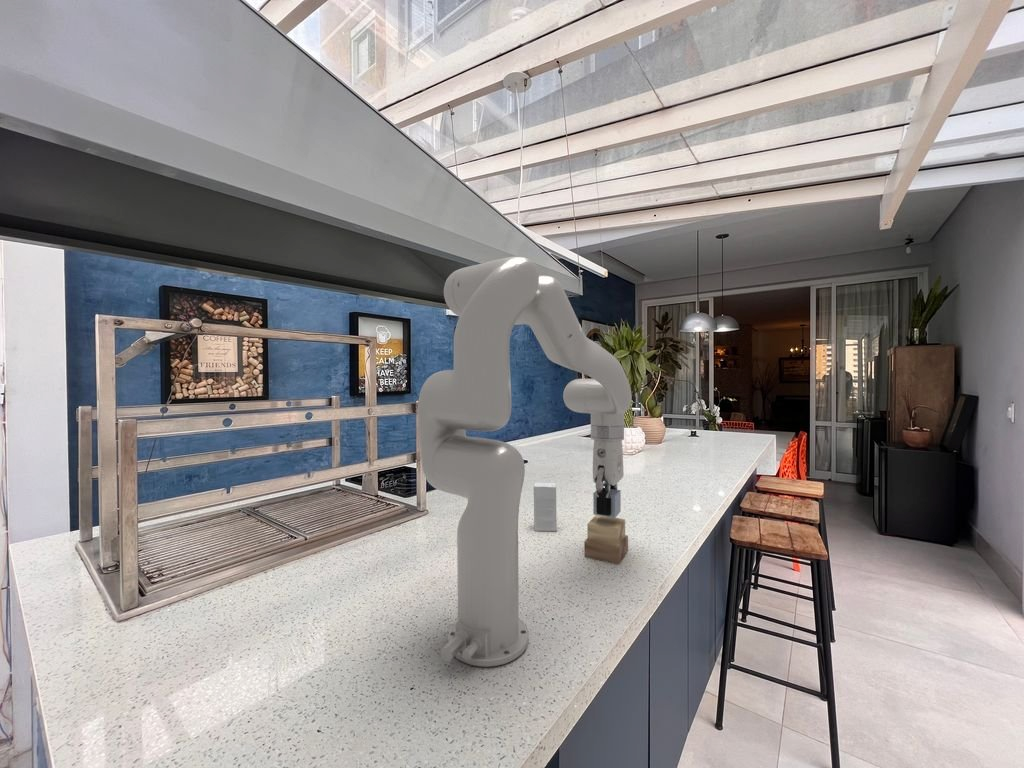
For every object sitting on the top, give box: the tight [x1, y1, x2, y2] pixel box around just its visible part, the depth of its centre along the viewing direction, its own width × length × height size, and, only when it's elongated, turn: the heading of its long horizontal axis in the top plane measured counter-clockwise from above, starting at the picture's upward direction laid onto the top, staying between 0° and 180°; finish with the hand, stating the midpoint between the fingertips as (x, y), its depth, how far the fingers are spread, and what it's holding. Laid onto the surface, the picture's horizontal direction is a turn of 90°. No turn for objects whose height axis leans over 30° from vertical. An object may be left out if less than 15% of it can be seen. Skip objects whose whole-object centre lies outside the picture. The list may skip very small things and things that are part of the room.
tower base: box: [583, 534, 629, 566], centre depth 98 cm, size 8×8×4 cm
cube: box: [592, 487, 622, 518], centre depth 98 cm, size 5×5×5 cm
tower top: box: [586, 515, 626, 547], centre depth 98 cm, size 7×7×4 cm
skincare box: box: [533, 482, 558, 532], centre depth 114 cm, size 6×4×12 cm
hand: (607, 510), depth 98 cm, fingers closed on cube, 5 cm apart
